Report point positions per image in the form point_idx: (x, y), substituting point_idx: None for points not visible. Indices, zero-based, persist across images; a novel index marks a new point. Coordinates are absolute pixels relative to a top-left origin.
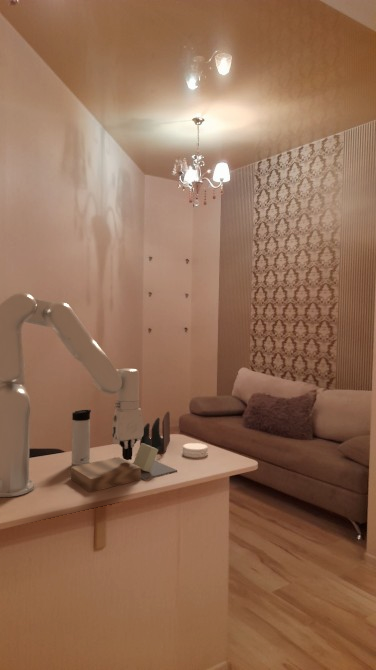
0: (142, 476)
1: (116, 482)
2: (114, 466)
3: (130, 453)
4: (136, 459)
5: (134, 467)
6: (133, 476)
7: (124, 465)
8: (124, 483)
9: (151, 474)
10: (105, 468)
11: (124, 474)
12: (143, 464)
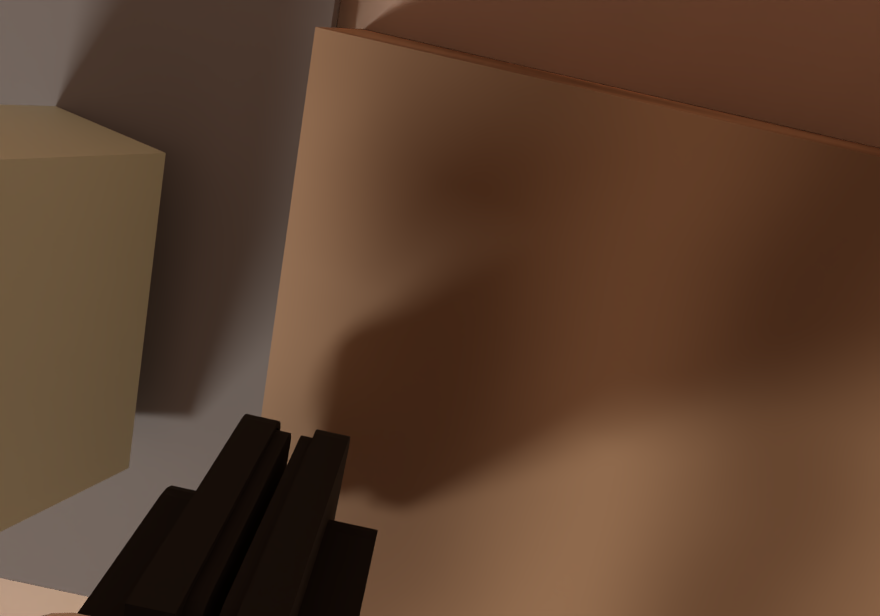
0: (281, 61)
1: (846, 142)
2: (632, 478)
3: (234, 505)
4: (36, 476)
5: (414, 141)
6: (506, 64)
7: (464, 383)
8: (675, 101)
9: (98, 8)
10: (820, 520)
11: (724, 118)
12: (75, 220)
